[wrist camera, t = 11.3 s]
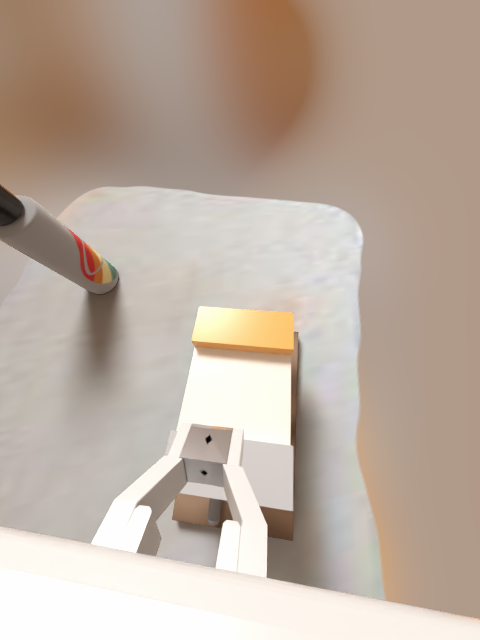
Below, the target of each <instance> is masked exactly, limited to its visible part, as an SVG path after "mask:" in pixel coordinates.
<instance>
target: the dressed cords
mask: <svg viewBox="0 0 480 640" xmlns="http://www.w3.org/2000/svg"><path fill="white" fill-rule="evenodd" d="M221 503H222V500H220V499H213V498H210V502H209V511H208V523H209V524H210V525H211V526H216V525H217V524H218V523H219V521H220V513H221Z"/></svg>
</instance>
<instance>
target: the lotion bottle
mask: <svg viewBox="0 0 480 640" xmlns="http://www.w3.org/2000/svg"><path fill="white" fill-rule="evenodd" d="M0 240H1V241H3V242H4V243H6V244H8V245H10V246H11V247H13V248H15V249H17V250H18V251H20V252H22V253H23V254H25V255H27V256H29V257H30V258H32V259H34V260H36V261H37V262H39V263H41V264H43V265H44V266H46V267H48V268H50V269H51V270H53V271H55V272H57V273H58V274H60V275H62V276H64V277H65V278H67V279H69V280H71V281H72V282H74V283H76V284H78V285H79V286H81V287H83V288H85V289H86V290H88V291H90V292H92V293H95V294H104V293H107V292H109V291H110V290H112V289H113V288H114V287H115V285H116V284H117V281H118V272H117V270H116V269H115V268H114V267H113V266H112V265H111V264H110V263H109V262H108V261H106V260H105V259H104V258H103V257H102V256H100V255H99V254H98V253H97V252H96V251H94V250H93V249H92V248H91V247H90V246H88V245H87V244H86V243H85V242H84V241H82V240H81V239H80V238H79V237H78V236H77V235H75V234H74V233H73V232H72V231H71V230H69V229H68V228H67V227H66V226H65V225H63V224H62V223H61V222H60V221H59V220H57V219H56V218H55V217H54V216H53V215H51V214H50V213H49V212H48V211H46V210H45V209H44V208H43V207H42V206H41V205H39V204H38V203H37V202H36V201H34V200H33V199H31V198H30V197H27V196H14V195H13V194H12V193H11V192H9V191H8V190H7V189H5V188H4V187H2V185H0Z"/></svg>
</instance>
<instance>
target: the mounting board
mask: <svg viewBox="0 0 480 640" xmlns="http://www.w3.org/2000/svg"><path fill="white" fill-rule="evenodd" d="M297 361H298V332H294V350H293V352H292V354H291V436H290V445H291V446H293V511H294V474H295V436H296V399H297ZM209 502H210V498H207V497H201V496H195V495H188V494H182V493H179V494H178V495H177V496H176V498H175V504H174V511H173V517H172V520H176V521H182V522H188V523H194V524H199V525H205V526H211V525H210V524H209V523H208V511H209ZM259 507H260V509H261V512H262V514H263V516H264V519H265V521H266V523H267V536H268V537H274V538H280V539H285V540H291V541H293V511H288V510H282V509H276V508H269V507H263V506H259ZM226 520H232V521H233V518H232V514H231V511H230V508H229V504H228V501H226V500H222V503H221V513H220V521H219V523H218V524H217V525H216V526H211V527H217V528H222V526H223V523H224V522H225V521H226Z"/></svg>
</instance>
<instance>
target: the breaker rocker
mask: <svg viewBox="0 0 480 640" xmlns="http://www.w3.org/2000/svg"><path fill="white" fill-rule="evenodd" d="M191 341H192V343H193V344H194V346H195V349H194V354H193V358H192V363H191V367H190V372H189V376H188V381H187V386H186V390H185V395H184V399H183V404H182V408H181V413H180V417H179V422H178V426H177V431H176V430H170V434H169V439H168V443H167V447H166V452H165V456H168V453H169V451H170V449H171V446H172V444H173V441H174V439H175V437H176V434H177V432H178V429H179V427H180V425H181V424H182V422H187V423H194V424H201V425H208V426H219V427H229V428H234V429H244V446H243V459H242V467H243V469H244V471H245V473H246V476H247V478H248V481H249V483H250V485H251V488H252V490H253V493H254V495H255V497H256V500H257V502H258V504H259V506H263V507H269V508H276V509H282V510H288V511H293V446H291V445H290V436H291V354H292V352H293V350H294V313H286V312H271V311H257V310H242V309H228V308H213V307H199V310H198V314H197V319H196V323H195V327H194V331H193V336H192V340H191ZM180 493H182V494H188V495H195V496H201V497H207V498H213V499H220V500H226V501H227V497H226V494H225V491H224V488H223V487H218V486H213V485H207V484H200V483H192V482H187V484H186V485H185V487H184V488H183V489H182V490H181V491H180Z"/></svg>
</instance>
